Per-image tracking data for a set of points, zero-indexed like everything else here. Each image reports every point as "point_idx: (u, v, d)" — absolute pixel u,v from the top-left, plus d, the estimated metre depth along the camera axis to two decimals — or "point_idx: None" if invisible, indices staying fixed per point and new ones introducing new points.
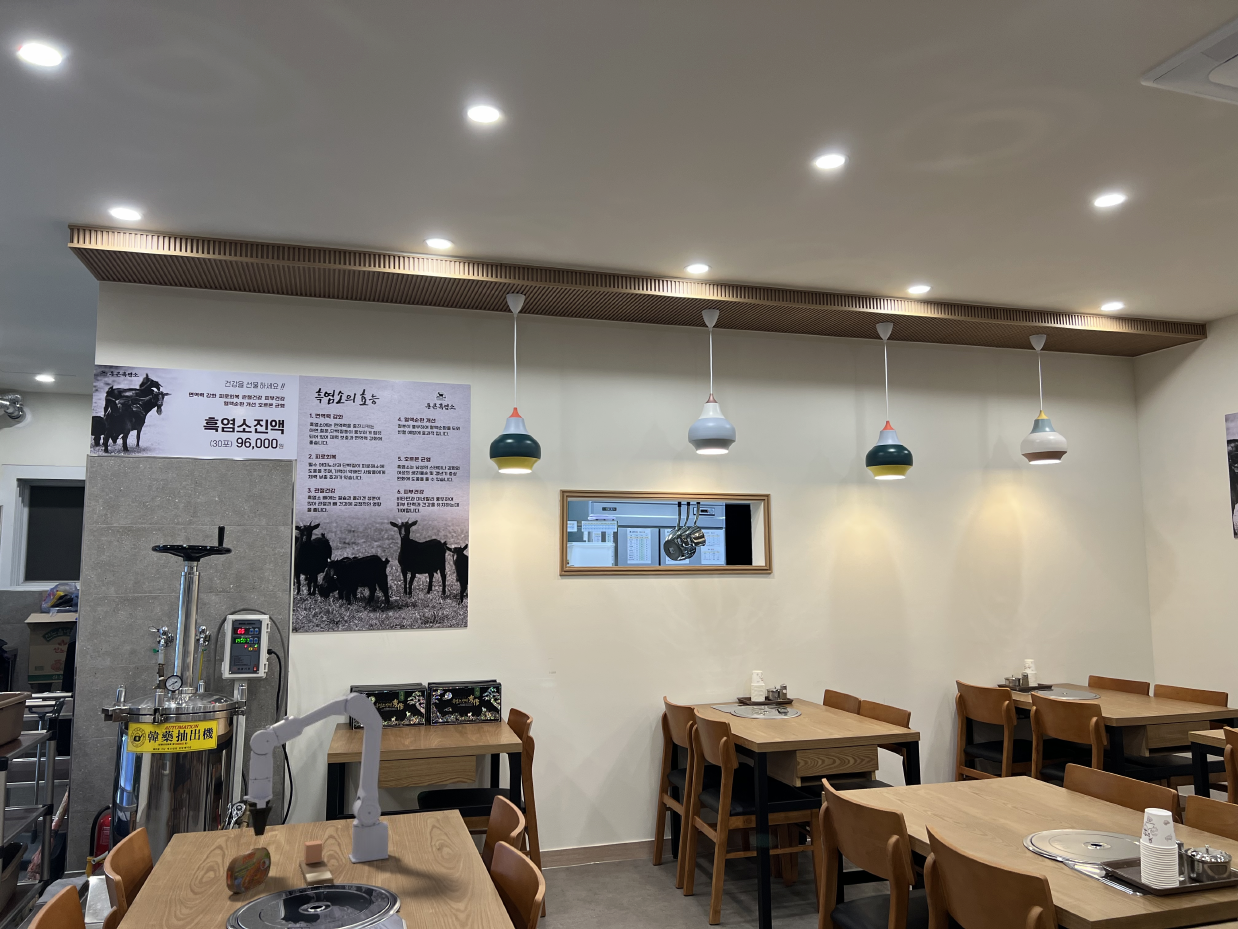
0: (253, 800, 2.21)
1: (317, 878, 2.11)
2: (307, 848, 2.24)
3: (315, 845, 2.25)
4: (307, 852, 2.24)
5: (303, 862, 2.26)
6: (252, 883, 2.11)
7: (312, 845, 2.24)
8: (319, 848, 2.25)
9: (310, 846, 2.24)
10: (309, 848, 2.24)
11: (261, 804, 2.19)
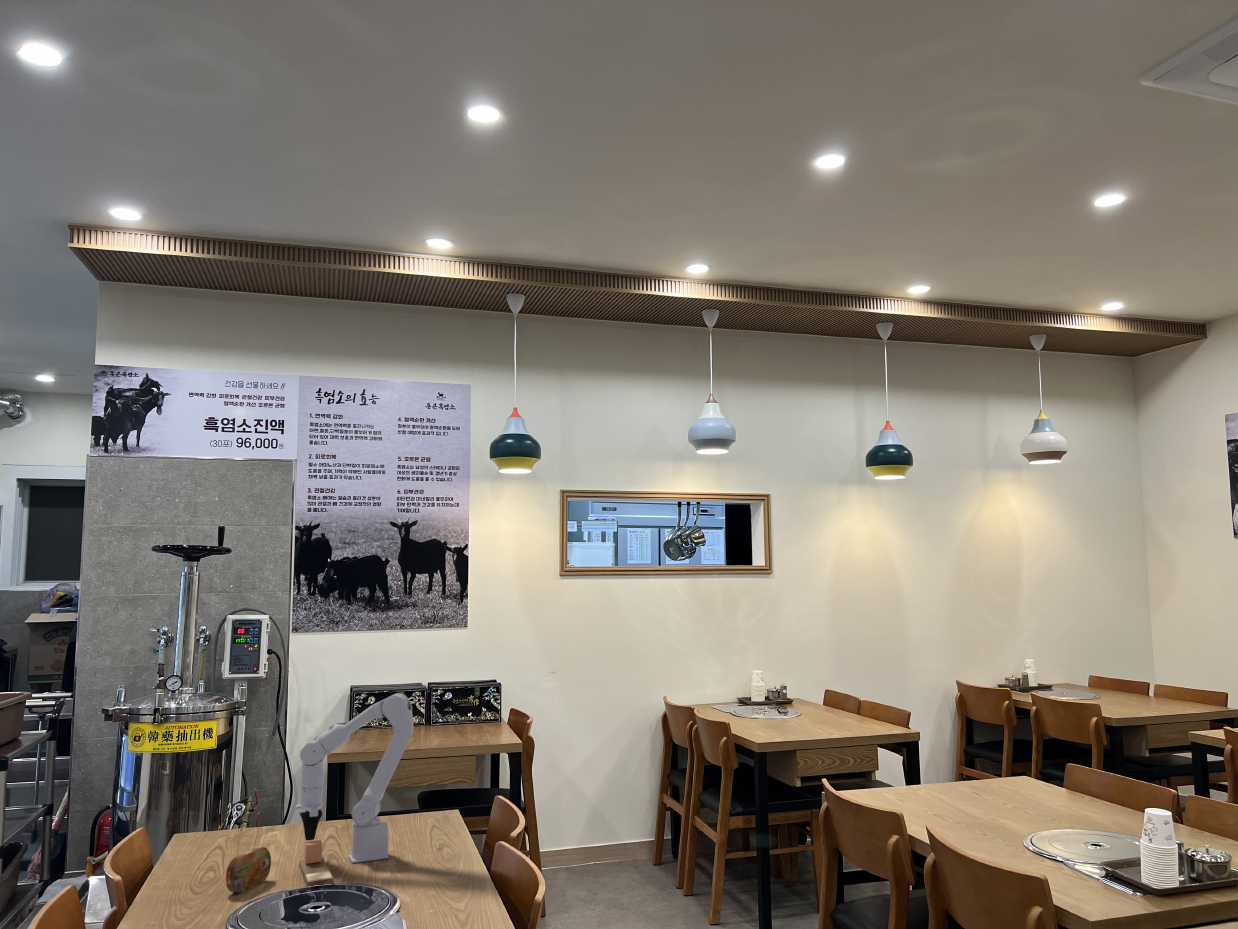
0: (305, 809, 2.31)
1: (317, 878, 2.11)
2: (307, 848, 2.24)
3: (315, 845, 2.25)
4: (307, 852, 2.24)
5: (303, 862, 2.26)
6: (252, 883, 2.11)
7: (312, 845, 2.24)
8: (319, 848, 2.25)
9: (310, 846, 2.24)
10: (309, 848, 2.24)
11: (314, 813, 2.28)
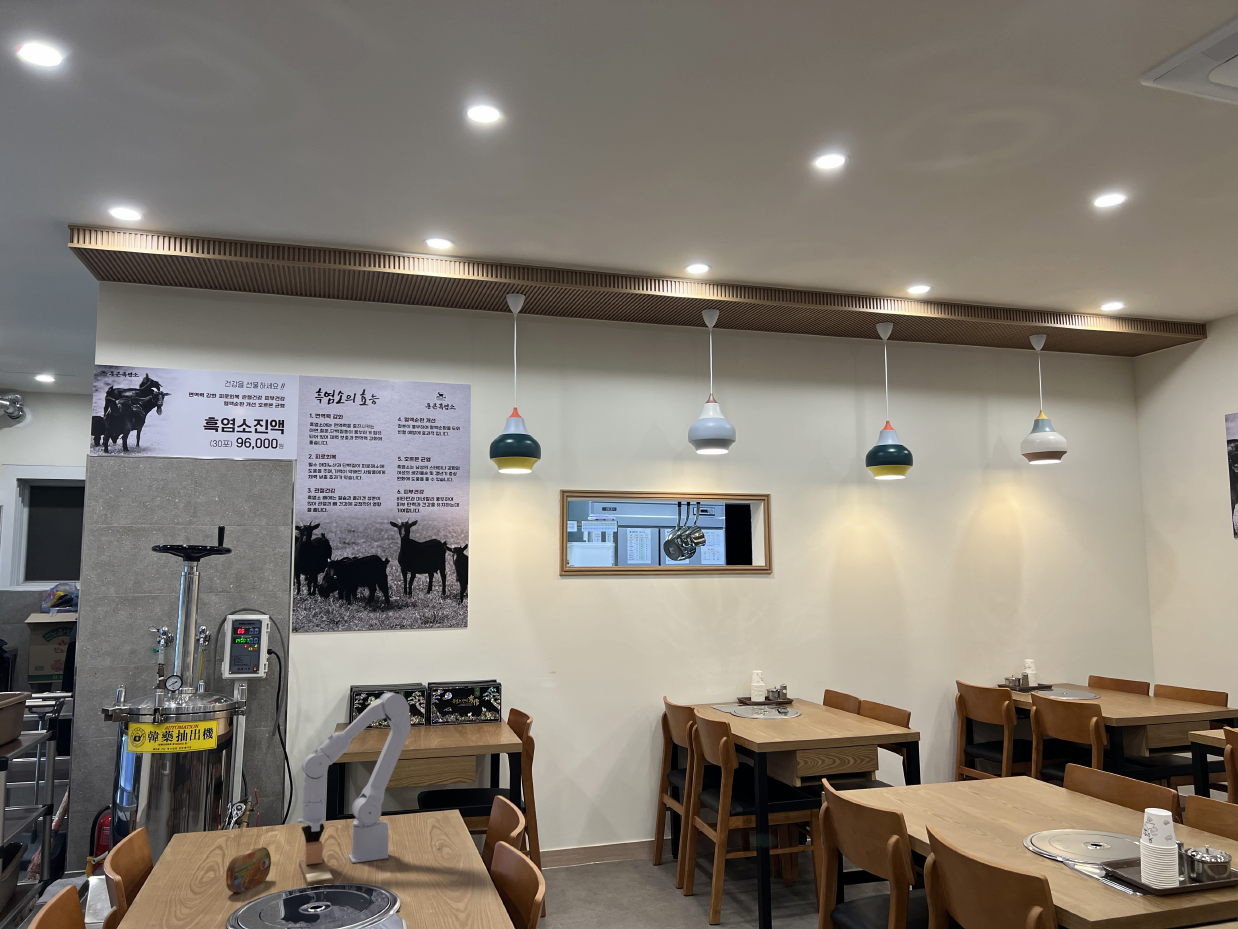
0: (307, 823, 2.25)
1: (317, 878, 2.11)
2: (307, 849, 2.23)
3: (315, 846, 2.24)
4: (307, 853, 2.23)
5: (303, 862, 2.26)
6: (252, 882, 2.11)
7: (312, 846, 2.23)
8: (319, 849, 2.24)
9: (310, 847, 2.23)
10: (310, 849, 2.23)
11: (315, 827, 2.23)
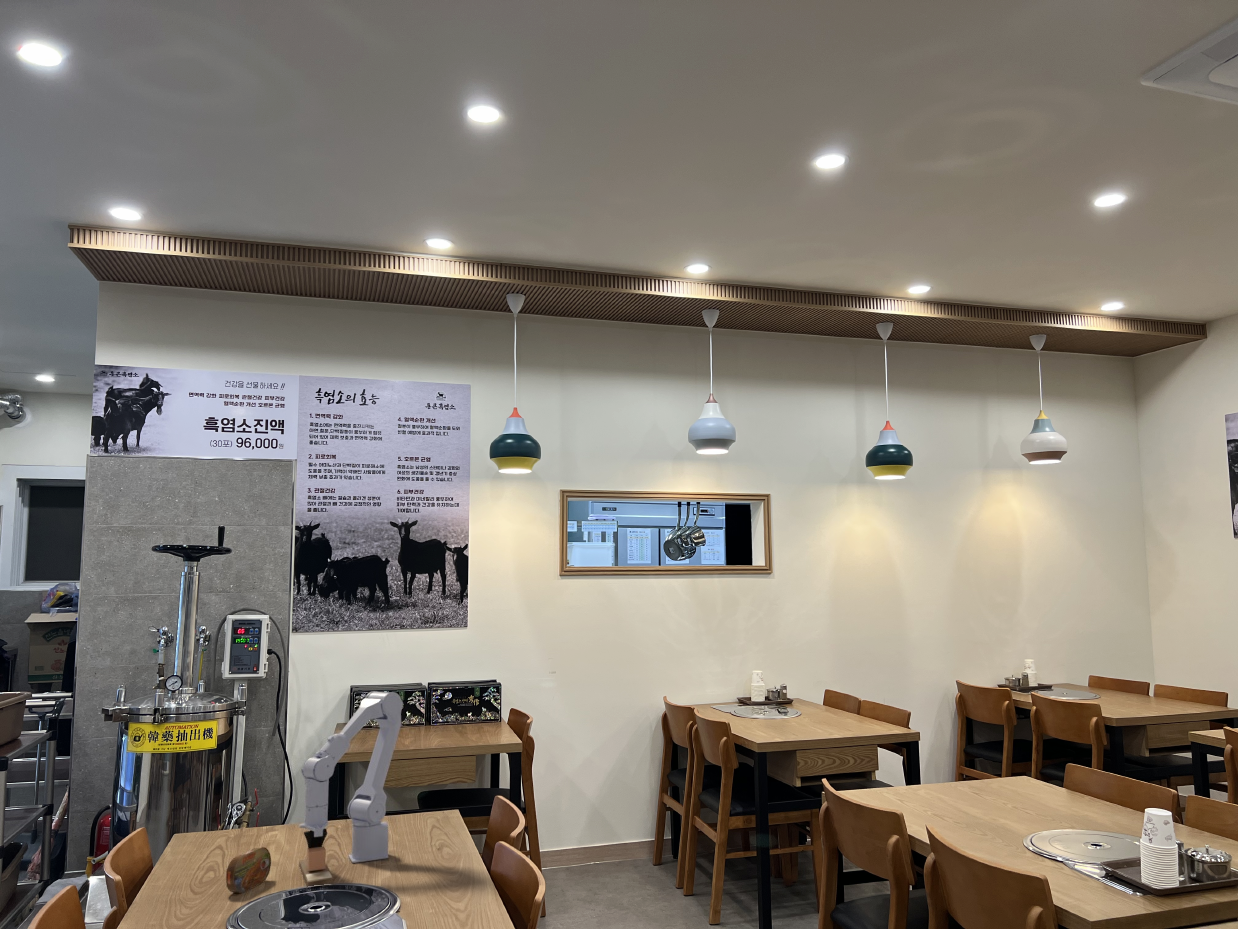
0: (310, 828, 2.19)
1: (317, 878, 2.11)
2: (310, 855, 2.17)
3: (318, 852, 2.18)
4: (310, 859, 2.17)
5: (303, 862, 2.26)
6: (253, 883, 2.11)
7: (315, 852, 2.18)
8: (322, 855, 2.18)
9: (313, 853, 2.17)
10: (312, 855, 2.17)
11: (318, 833, 2.17)
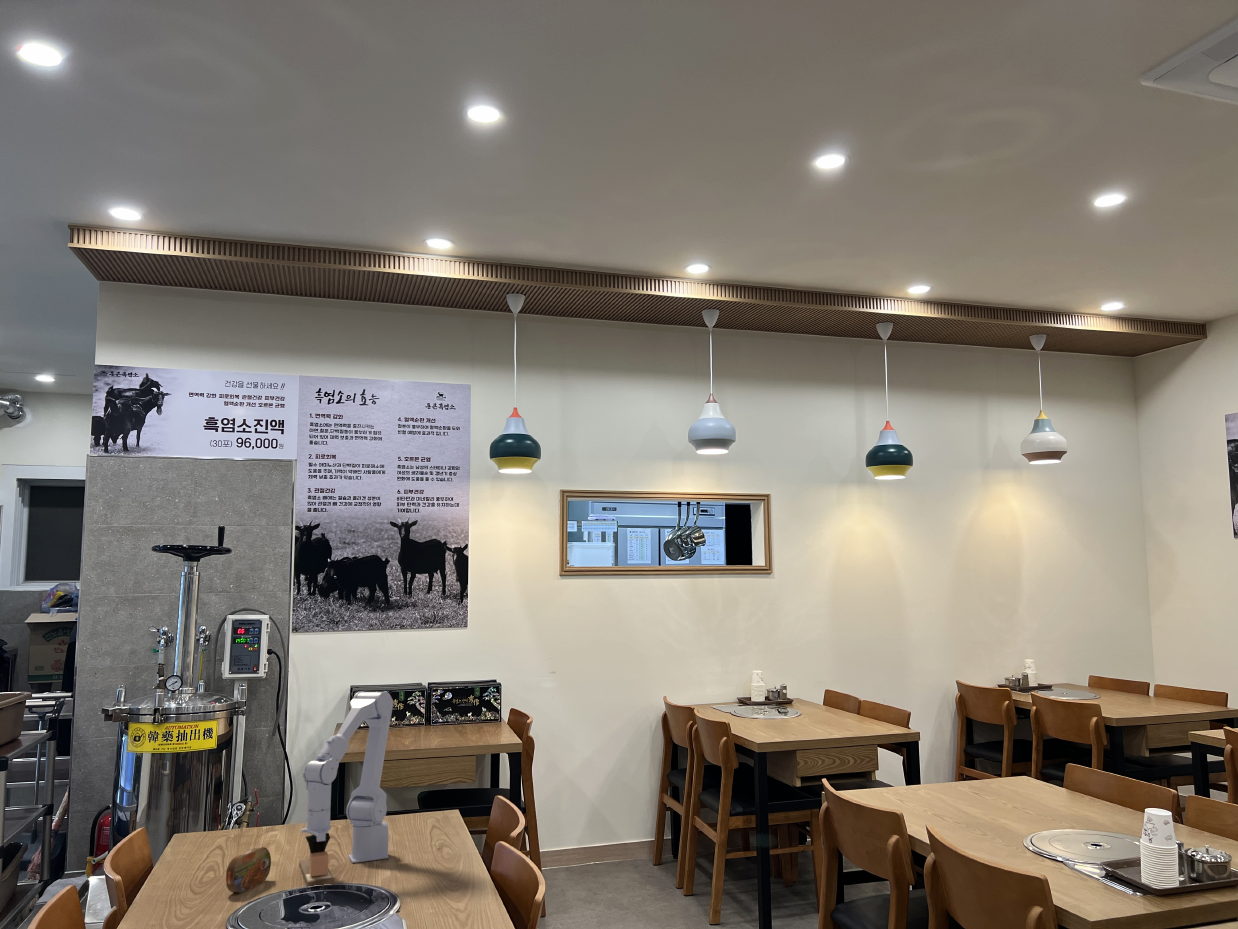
0: (312, 833, 2.15)
1: (317, 878, 2.11)
2: (312, 860, 2.12)
3: (321, 857, 2.13)
4: (312, 864, 2.12)
5: (303, 862, 2.26)
6: (252, 883, 2.11)
7: (318, 857, 2.13)
8: (324, 860, 2.13)
9: (315, 858, 2.12)
10: (315, 860, 2.12)
11: (321, 837, 2.12)
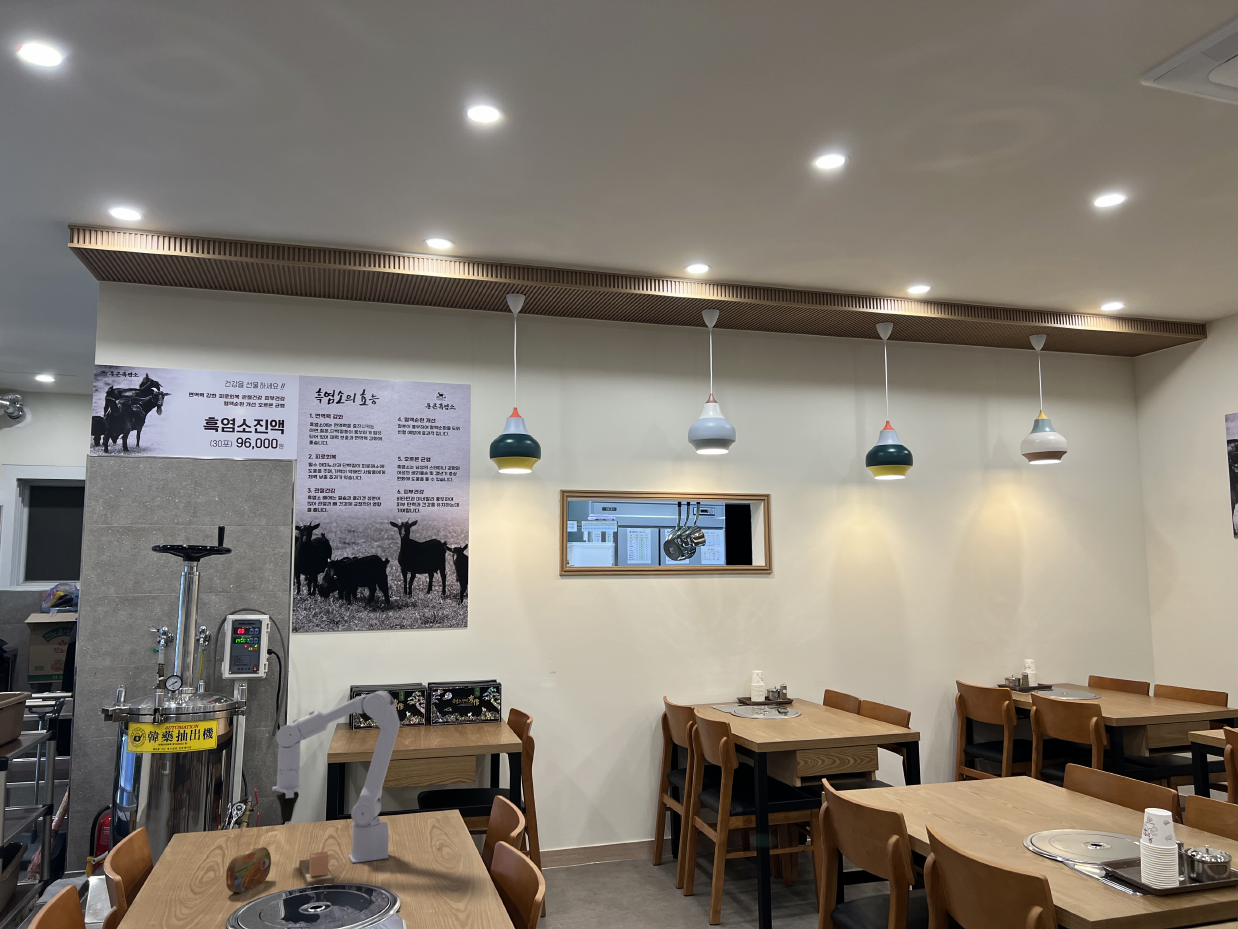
0: (282, 790, 2.32)
1: (317, 878, 2.11)
2: (312, 860, 2.12)
3: (321, 857, 2.13)
4: (312, 864, 2.12)
5: (303, 862, 2.26)
6: (252, 883, 2.11)
7: (318, 857, 2.13)
8: (324, 860, 2.13)
9: (315, 858, 2.12)
10: (315, 860, 2.12)
11: (290, 794, 2.29)
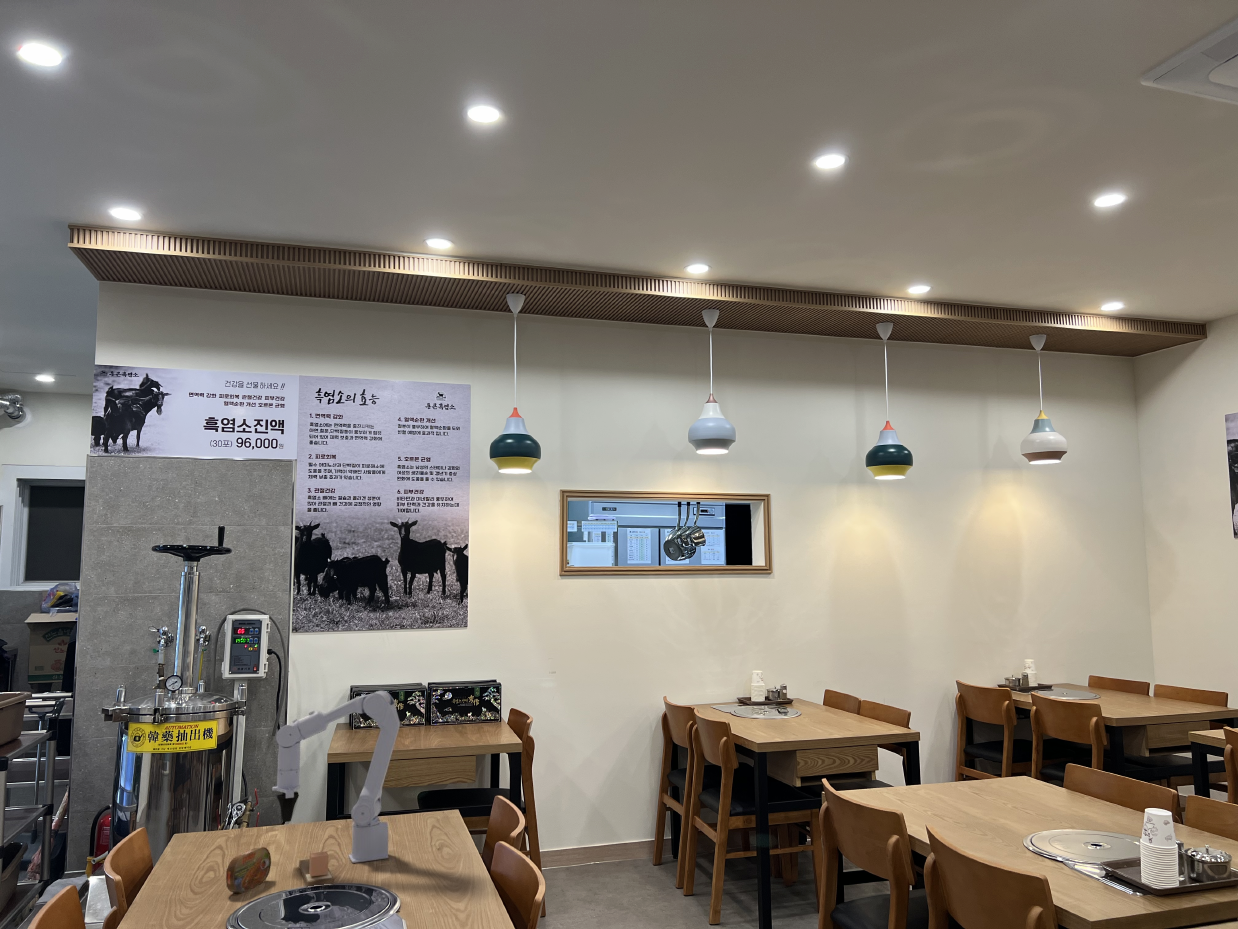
0: (282, 790, 2.32)
1: (317, 878, 2.11)
2: (312, 860, 2.12)
3: (321, 857, 2.13)
4: (312, 864, 2.12)
5: (303, 862, 2.26)
6: (253, 882, 2.11)
7: (318, 857, 2.13)
8: (324, 860, 2.13)
9: (315, 858, 2.12)
10: (315, 860, 2.12)
11: (289, 794, 2.29)
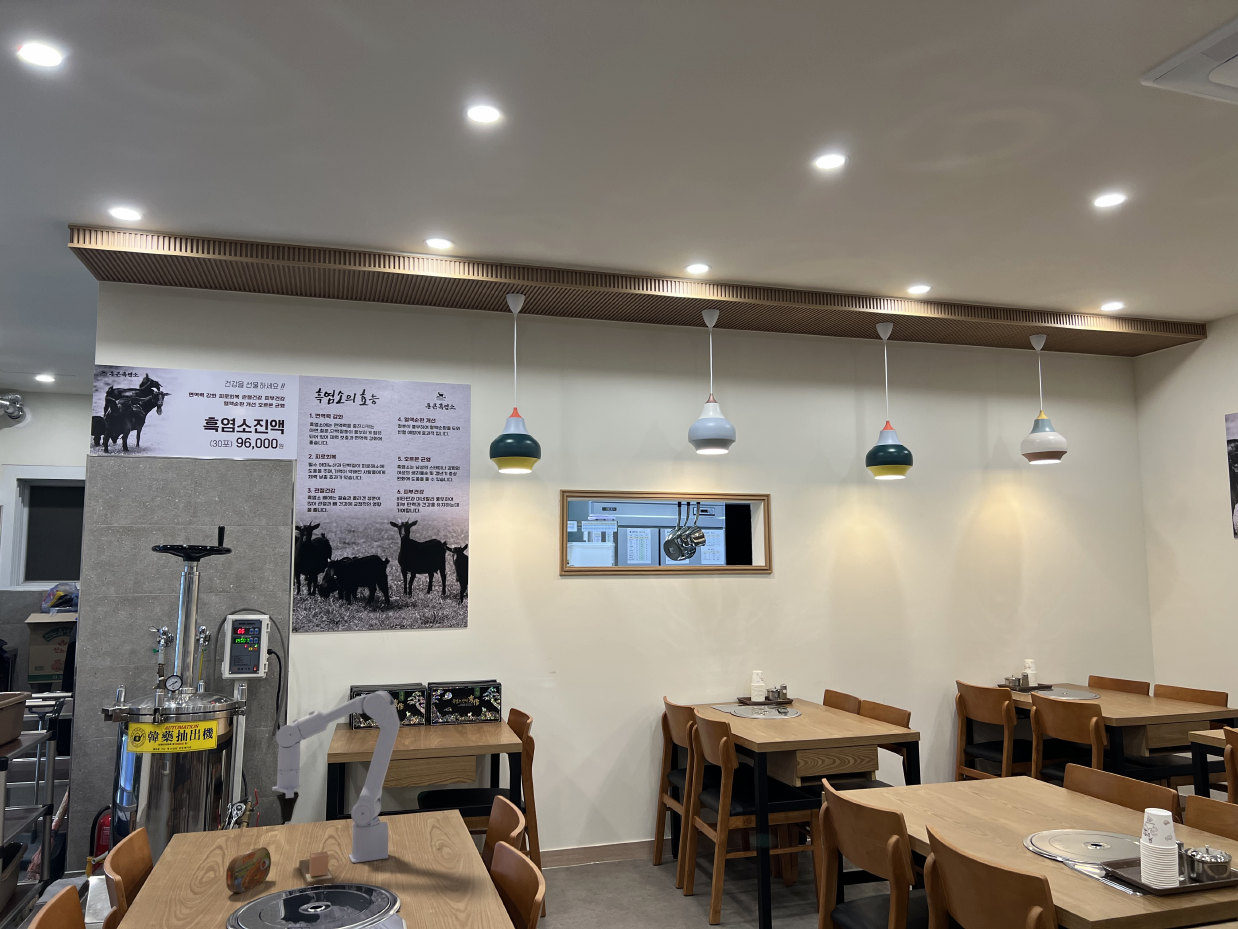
0: (282, 790, 2.32)
1: (317, 878, 2.11)
2: (312, 860, 2.12)
3: (321, 857, 2.13)
4: (312, 864, 2.12)
5: (303, 862, 2.26)
6: (252, 883, 2.11)
7: (318, 857, 2.13)
8: (324, 860, 2.13)
9: (315, 858, 2.12)
10: (315, 860, 2.12)
11: (289, 794, 2.29)
